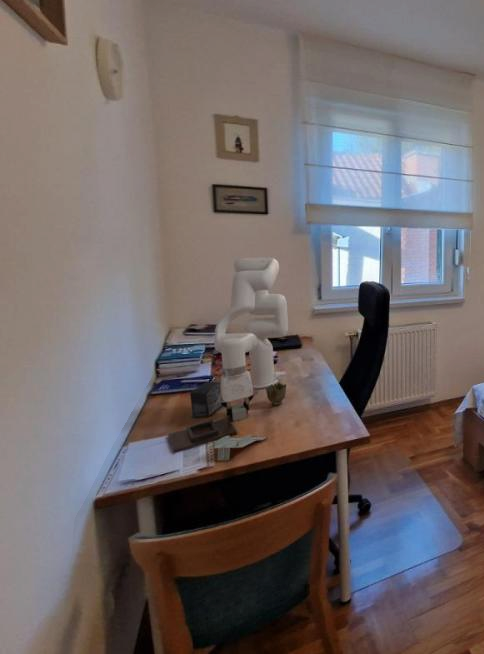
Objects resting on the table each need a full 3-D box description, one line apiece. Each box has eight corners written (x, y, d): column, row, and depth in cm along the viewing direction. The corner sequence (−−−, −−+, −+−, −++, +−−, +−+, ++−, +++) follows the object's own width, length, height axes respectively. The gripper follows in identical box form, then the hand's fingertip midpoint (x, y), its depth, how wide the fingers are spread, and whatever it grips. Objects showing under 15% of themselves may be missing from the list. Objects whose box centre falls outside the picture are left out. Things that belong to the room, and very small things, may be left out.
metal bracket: (247, 441, 133) (198, 443, 131) (245, 460, 132) (196, 462, 131) (268, 431, 147) (224, 432, 146) (267, 448, 146) (222, 450, 145)
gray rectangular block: (242, 411, 166) (242, 403, 165) (246, 417, 161) (246, 409, 160) (229, 415, 163) (228, 406, 162) (233, 421, 158) (232, 412, 157)
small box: (208, 405, 171) (205, 381, 169) (224, 405, 171) (222, 381, 170) (191, 417, 160) (188, 392, 159) (209, 417, 161) (206, 391, 159)
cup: (291, 402, 174) (290, 384, 173) (275, 409, 168) (274, 391, 166) (279, 399, 177) (278, 381, 176) (263, 406, 171) (261, 387, 169)
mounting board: (228, 420, 159) (227, 414, 158) (236, 433, 149) (236, 427, 148) (168, 436, 146) (167, 430, 146) (173, 453, 136) (173, 446, 136)
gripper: (210, 378, 151) (214, 425, 153) (261, 367, 162) (265, 411, 165) (206, 372, 156) (210, 418, 158) (256, 362, 167) (259, 405, 170)
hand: (238, 414), depth 161 cm, fingers closed on gray rectangular block, 4 cm apart
